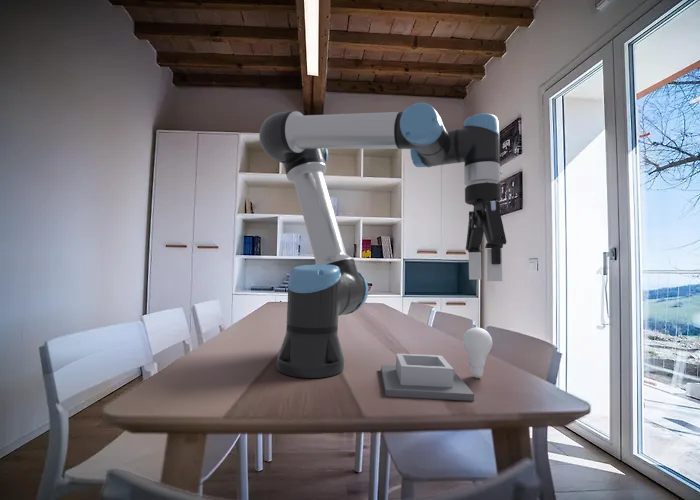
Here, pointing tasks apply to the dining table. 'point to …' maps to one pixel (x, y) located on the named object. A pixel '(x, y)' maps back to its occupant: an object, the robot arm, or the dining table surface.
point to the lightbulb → (477, 349)
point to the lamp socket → (423, 378)
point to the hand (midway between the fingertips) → (484, 280)
